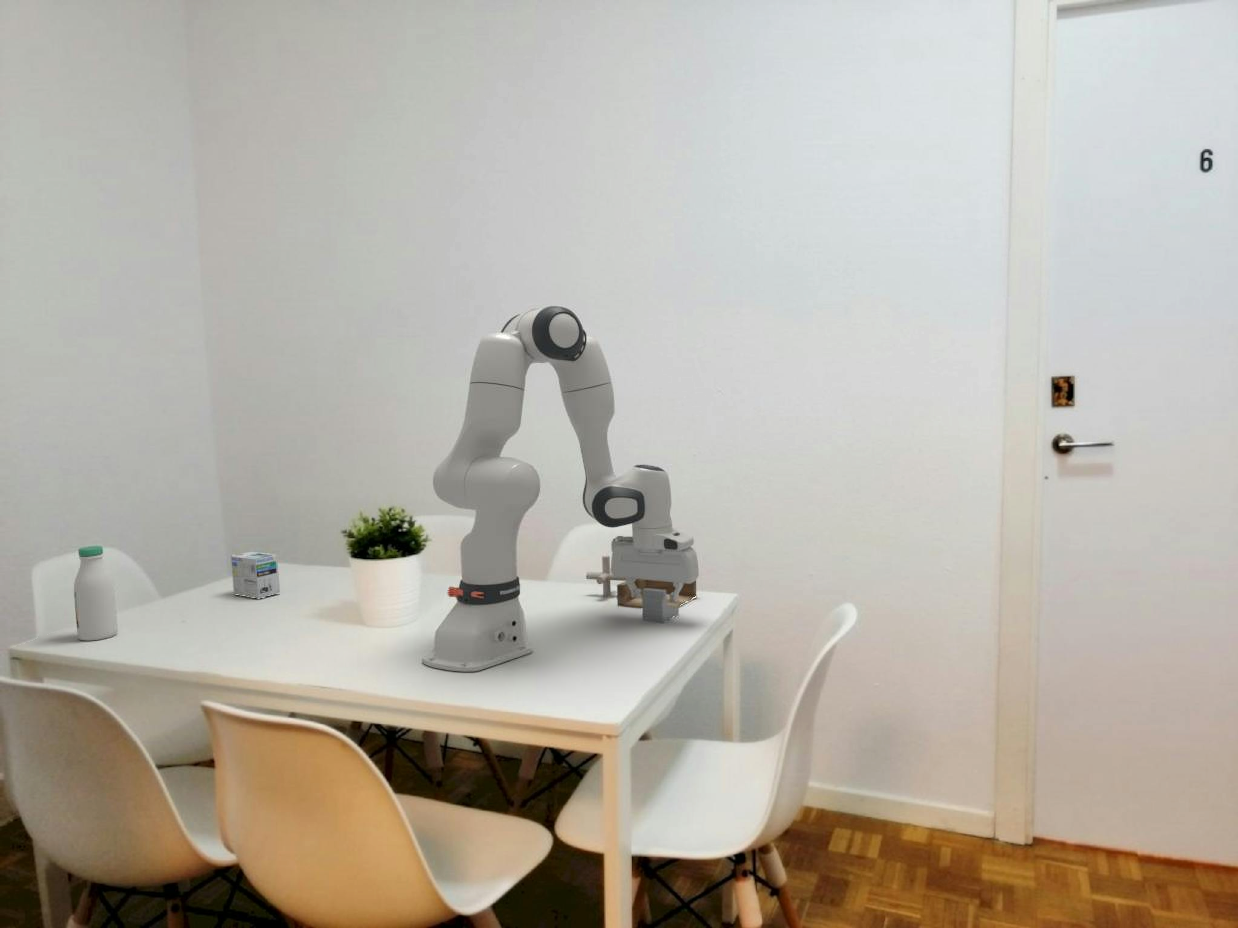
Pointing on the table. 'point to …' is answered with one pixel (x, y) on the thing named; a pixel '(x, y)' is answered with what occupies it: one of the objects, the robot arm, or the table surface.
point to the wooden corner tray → (625, 592)
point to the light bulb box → (255, 574)
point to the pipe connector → (604, 576)
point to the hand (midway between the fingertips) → (655, 599)
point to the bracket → (656, 606)
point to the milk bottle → (94, 597)
